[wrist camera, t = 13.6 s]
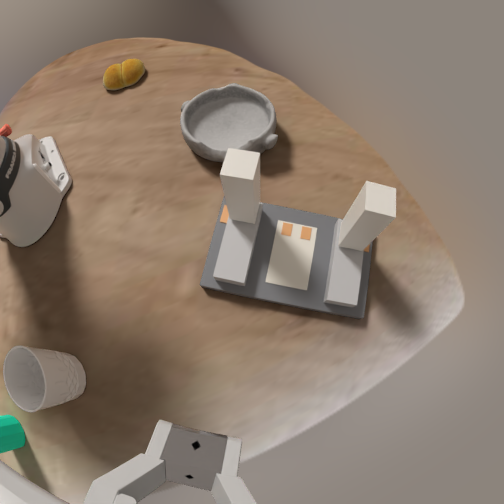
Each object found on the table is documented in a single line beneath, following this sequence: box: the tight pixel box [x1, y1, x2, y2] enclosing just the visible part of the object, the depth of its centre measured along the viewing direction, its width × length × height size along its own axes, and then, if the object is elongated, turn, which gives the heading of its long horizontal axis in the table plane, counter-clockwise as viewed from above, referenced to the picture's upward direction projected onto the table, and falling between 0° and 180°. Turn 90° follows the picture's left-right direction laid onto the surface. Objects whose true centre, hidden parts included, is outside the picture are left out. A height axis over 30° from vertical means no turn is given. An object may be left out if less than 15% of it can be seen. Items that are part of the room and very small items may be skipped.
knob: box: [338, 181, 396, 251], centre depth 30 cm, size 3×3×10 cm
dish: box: [180, 83, 278, 162], centre depth 42 cm, size 14×14×5 cm
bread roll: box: [103, 59, 145, 90], centre depth 48 cm, size 8×9×4 cm
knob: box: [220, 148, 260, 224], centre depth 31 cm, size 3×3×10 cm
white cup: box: [3, 346, 86, 412], centre depth 29 cm, size 8×8×10 cm
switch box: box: [200, 196, 373, 319], centre depth 36 cm, size 12×20×4 cm, turn 78°
